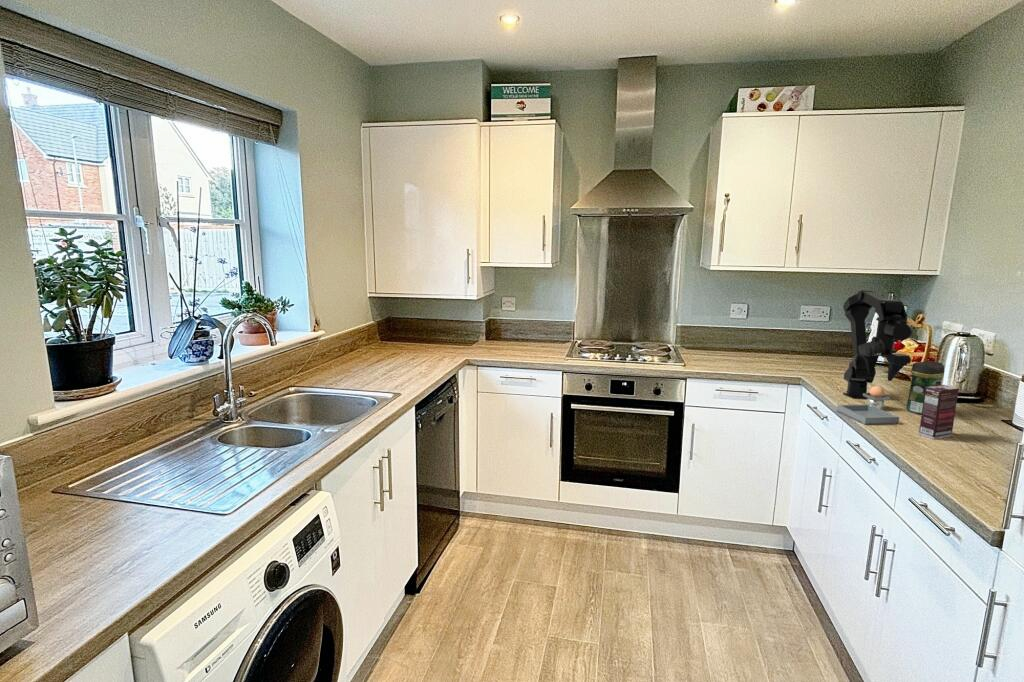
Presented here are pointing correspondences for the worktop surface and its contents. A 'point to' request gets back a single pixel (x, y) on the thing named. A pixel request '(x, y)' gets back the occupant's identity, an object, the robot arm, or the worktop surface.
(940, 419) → the supplement box
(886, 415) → the tray
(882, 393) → the ball
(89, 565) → the worktop surface
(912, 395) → the coffee jar
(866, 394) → the hollow square frame
